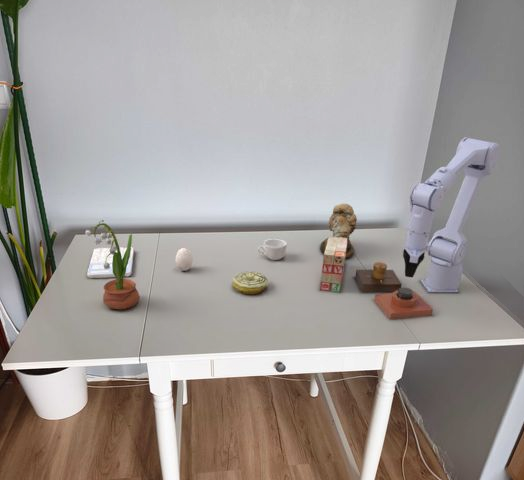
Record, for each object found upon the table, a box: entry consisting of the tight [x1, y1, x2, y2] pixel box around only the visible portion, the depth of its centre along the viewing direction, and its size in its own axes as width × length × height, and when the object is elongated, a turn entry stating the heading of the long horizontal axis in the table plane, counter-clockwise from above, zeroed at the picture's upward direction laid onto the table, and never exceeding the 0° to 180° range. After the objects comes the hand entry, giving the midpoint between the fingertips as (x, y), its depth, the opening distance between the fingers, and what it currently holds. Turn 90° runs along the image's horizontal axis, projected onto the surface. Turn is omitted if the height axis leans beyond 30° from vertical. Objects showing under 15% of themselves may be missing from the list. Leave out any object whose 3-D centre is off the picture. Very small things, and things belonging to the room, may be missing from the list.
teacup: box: [257, 238, 288, 261], centre depth 170 cm, size 10×8×5 cm
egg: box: [175, 247, 193, 272], centre depth 160 cm, size 5×5×8 cm
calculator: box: [86, 246, 135, 279], centre depth 163 cm, size 13×20×2 cm, turn 9°
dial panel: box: [354, 269, 403, 294], centre depth 156 cm, size 12×10×3 cm
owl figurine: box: [320, 203, 358, 261], centre depth 175 cm, size 18×12×17 cm, turn 1°
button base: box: [373, 290, 434, 320], centre depth 145 cm, size 13×11×4 cm
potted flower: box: [84, 220, 140, 310], centre depth 135 cm, size 12×10×25 cm
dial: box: [372, 261, 388, 279], centre depth 154 cm, size 4×4×4 cm
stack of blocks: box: [319, 236, 347, 293], centre depth 158 cm, size 21×6×12 cm, turn 168°
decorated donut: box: [232, 271, 270, 295], centre depth 152 cm, size 10×11×4 cm
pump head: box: [397, 287, 414, 300], centre depth 143 cm, size 4×4×2 cm
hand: (408, 276), depth 140 cm, fingers closed
